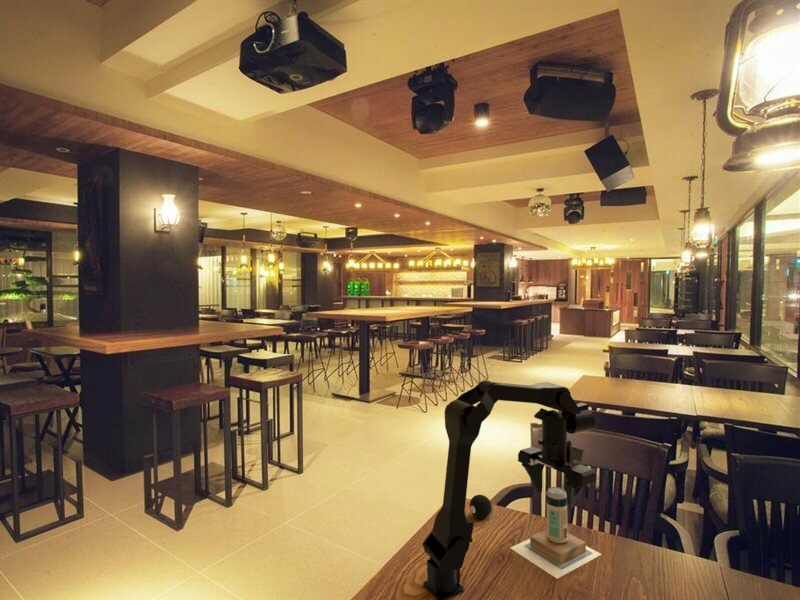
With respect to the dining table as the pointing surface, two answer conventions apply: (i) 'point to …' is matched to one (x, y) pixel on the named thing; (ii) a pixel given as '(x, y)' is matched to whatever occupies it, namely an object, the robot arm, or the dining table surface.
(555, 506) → the beer can
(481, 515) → the billiard ball
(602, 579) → the dining table surface
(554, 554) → the base block
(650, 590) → the dining table surface
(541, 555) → the white flat square slab
